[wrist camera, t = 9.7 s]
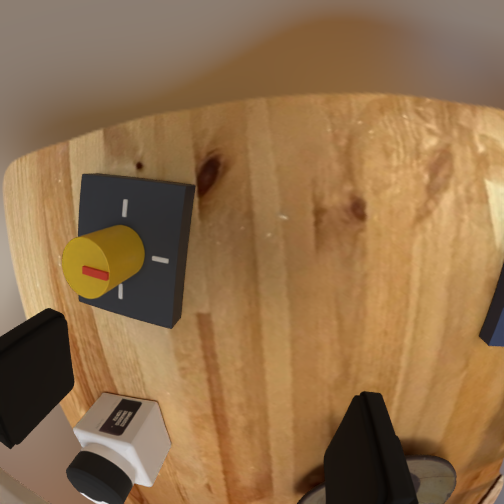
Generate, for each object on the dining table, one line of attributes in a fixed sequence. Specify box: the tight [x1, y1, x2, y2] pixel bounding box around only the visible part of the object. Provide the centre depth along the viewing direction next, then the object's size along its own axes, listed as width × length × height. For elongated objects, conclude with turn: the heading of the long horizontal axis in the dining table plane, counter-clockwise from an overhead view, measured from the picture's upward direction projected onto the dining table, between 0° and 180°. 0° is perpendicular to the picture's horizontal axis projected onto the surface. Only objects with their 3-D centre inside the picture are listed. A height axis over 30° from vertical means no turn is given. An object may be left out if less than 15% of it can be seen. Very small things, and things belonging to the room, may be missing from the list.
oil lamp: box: [297, 455, 457, 504], centre depth 27 cm, size 22×30×8 cm
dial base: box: [78, 174, 195, 329], centre depth 25 cm, size 12×10×3 cm
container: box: [66, 393, 171, 504], centre depth 26 cm, size 8×8×13 cm
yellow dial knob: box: [62, 225, 145, 299], centre depth 21 cm, size 4×4×6 cm
